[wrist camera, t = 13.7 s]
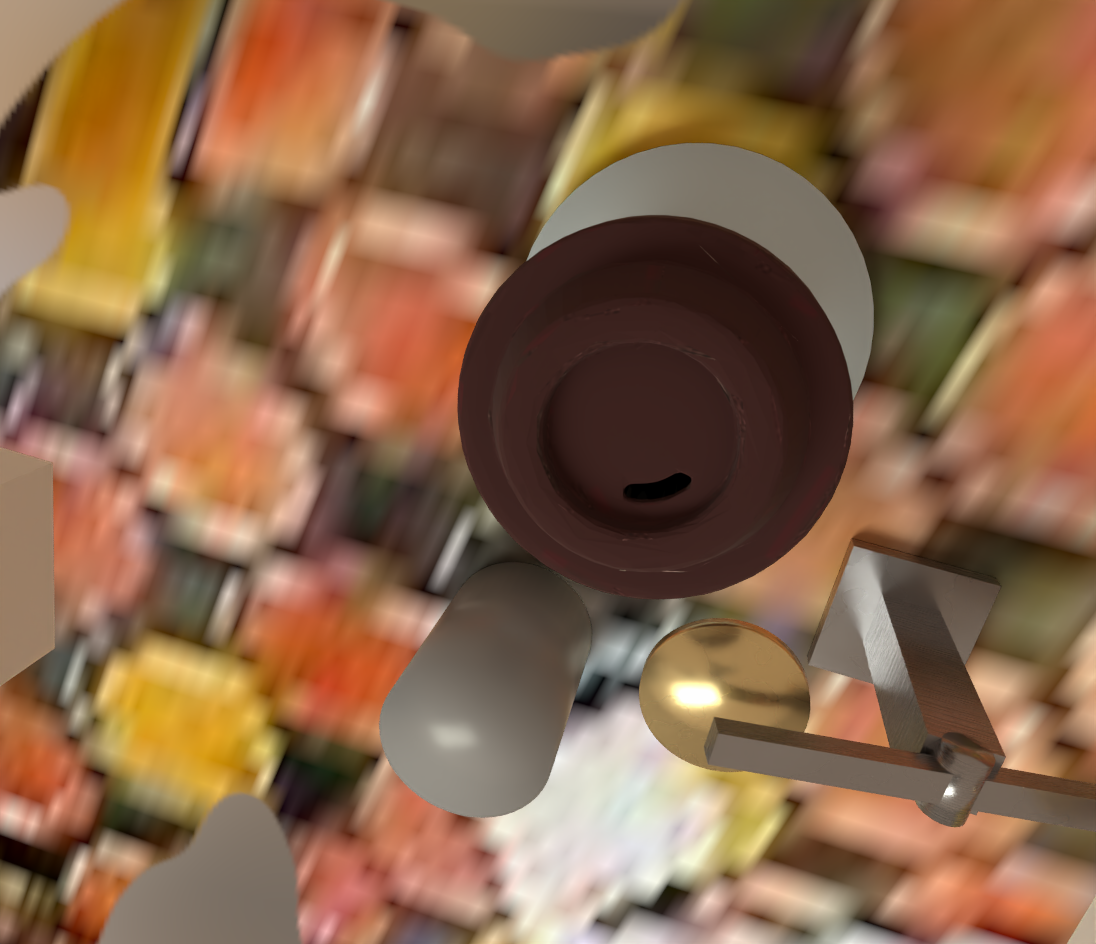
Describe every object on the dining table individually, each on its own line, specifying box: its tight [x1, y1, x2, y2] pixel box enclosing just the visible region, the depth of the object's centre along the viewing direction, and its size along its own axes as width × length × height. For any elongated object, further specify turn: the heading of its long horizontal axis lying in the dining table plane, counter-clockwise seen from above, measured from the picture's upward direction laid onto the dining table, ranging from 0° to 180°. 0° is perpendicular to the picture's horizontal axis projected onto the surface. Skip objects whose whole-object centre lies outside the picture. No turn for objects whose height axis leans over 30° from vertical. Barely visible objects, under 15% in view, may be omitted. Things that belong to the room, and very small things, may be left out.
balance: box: [639, 539, 1096, 832], centre depth 31 cm, size 21×6×13 cm, turn 79°
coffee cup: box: [458, 215, 853, 599], centre depth 27 cm, size 10×10×15 cm
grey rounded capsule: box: [379, 562, 592, 818], centre depth 37 cm, size 7×7×9 cm
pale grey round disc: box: [527, 143, 874, 400], centre depth 34 cm, size 14×14×1 cm
